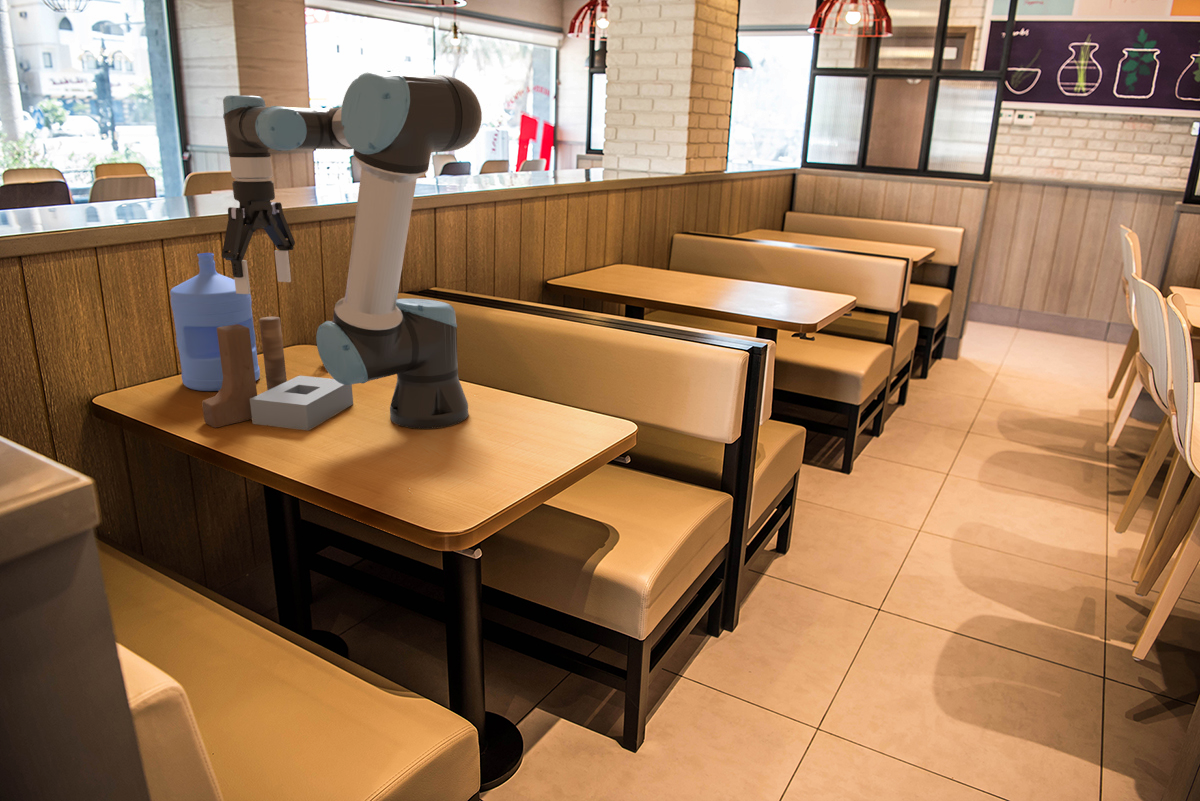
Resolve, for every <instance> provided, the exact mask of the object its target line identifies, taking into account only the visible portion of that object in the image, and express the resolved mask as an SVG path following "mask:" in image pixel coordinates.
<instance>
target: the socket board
mask: <svg viewBox="0 0 1200 801" xmlns="http://www.w3.org/2000/svg"><path fill="white" fill-rule="evenodd" d="M352 385H353V384H352ZM352 385H344V384H341V383H339V382H337V381H336V380H335V379H334V378H327V377H318V376H316V377H315V376H308V375H298V376H295V377H293V378H291V379H289V380H287V381H286V382H284V383H282V384H280V385H278V386H276V387H274V388H272V389H270V390H265V391H263V392H261V393H259V394H257V396H255V397H253V398H251V399H250V406H251V414H252V419H251V420H252V425H260V426H267V425H268V427H277V428H283V429H284V428H285V429H294V430H300V429H301V430H303V431H310V430H312V429H313V428H315V427H317V426H318V425H320V424H322V423H324V422H325V421H328V420H329V419H331V418H333V417H334V416H336V415H337V414H339V413H341V412H342V411H344V410H345V409H347V408H349V407H350V406H352V405H354V395H353V386H352ZM301 430H300V431H301Z"/></svg>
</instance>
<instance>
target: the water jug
mask: <svg viewBox="0 0 1200 801" xmlns="http://www.w3.org/2000/svg"><path fill="white" fill-rule="evenodd" d="M196 256H197V257H198V267H199V272H198V274H197V275H194V276H193V277H191V278H189V279H187V280H185V281H183V282H181V283H179V284H178V285H176V286H173V287H172V288H171V289H170V292H169V294H170V306H171V310H172V315H173V321H174V328H175V334H176V335H175V339H176V340H175V341H176V346H177V349H178V353H179V354H178V355H179V360H180V368H181V380H182V384H183V385H184V386H185V387H186V388H188V389H191V390H194V391H199V392H201V391H202V392H219V390H220V389H221V388H222V382H223V373H222V366H221V358H220V351H219V343H218V335H217V328H218V327H223V326H229V325H235V324H240V325H242V326H245V327H248V328H249V330H250V339H251V347H252V356H253V364H254V372H255V381H256V382H257V381H258V380H259V379H260V376H261V373H260V372H261V369H260V366H259V361H258V352H257V350H258V349H257V342H256V333H255V332H256V330H255V326H254V318H253V310H252V295H251V294H237V293H236V288H235V280H234V278H231V277H229V276H225V275H223V274H221V273H218V272H217V270H216V261H215V260H214V256H215V254H214V253H213V252H203V253H197V254H196Z"/></svg>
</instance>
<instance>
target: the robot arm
mask: <svg viewBox="0 0 1200 801" xmlns="http://www.w3.org/2000/svg"><path fill="white" fill-rule="evenodd" d="M222 103H223V104H222V107H223V113H222V114H223V115H222V116H223V118H222V119H223V121H224V128H225V135H226V142H227V143H226V144H227V150H228V156H229V166H230V174H231V178H233V179H235V180H233V181H232V182H231V184H232V185H231V186H232V193H233V199H234V200H235V201H237V202H238V203H239V206H238V207H231V206H229V207H228V208H227V217H228V219H227V225H226V230H225V235H224V241H223V246H222V252H221V258H223V259H225V260H226V261H230V263H231V270H232V276H233V279H234V280H235V288H236V293H237V294H251V286H250V276H249V269H248V260H247V259H244V258H245V256H246V253H247V251H248V248H249V245H250V243H251V242H250V241H251V240H252V237H253V234H254V233H255V232H256V231H257V230H259V229H261V228H262V229H263V230H264V231H265V233H266V234H267V236H268V237H269V239H270V240H271V242H272V243H273V244H274V246H275V247H276V249H275V250H274V260H275V268H276V276H277V283H278V282H280V283H283V282H284V283H291V282H292V277H291V266H290V263H291V262H290V261H291V260H290V251H293V250H294V248H295V247H294V246H295V245H296V241H295V238H294V236H293V234H292V232H291V229H290V227H289V223H288V222H287V220H286V217H285V215H284V211H283V205H282V203H281V202H276V201H273V200H275V198H276V193H275V192H276V191H275V184H274V182H273V180H271V179H272V178H273V177H274V172H273V164H272V157H271V150H275V151H279V152H281V151H292V150H353V157H354V159H355V160H356V161H357V162H358V164H359V165H360V167H361V170H360V180H359V186H358V194H357V201H356V202H357V203H356V210H355V218H354V225H353V226H354V227H353V235H352V242H351V247H350V248H351V251H350V257H349V265H348V272H347V273H348V274H347V281H346V286H345V287H346V289H345V295H344V297H342V298H340V299H339V300H338V301H337V302H336V303H335V305H334V310H333V317H332V320H331V321H330V320H326V321H324V322H323V323H322V324H320V325H319V326H318V327H317V331H316V338H315V340H316V346H317V347H316V348H317V352H318V355H319V358H320V359H321V362H322V364H323V367H324V368H325V370H326V372H327V373H328V374H329V375H330V376H331V378H332V379H335V380H336V381H337V382H339V383H341V384H344V385H357V384H365V383H368V382H369V381H374V380H378V379H382V378H386V377H390V376H395V375H396V384H395V387H394V392H393V395H392V398H391V402H390V405H389V416H390V421H392V423H393V424H396V425H398V426H401V427H404V428H410V429H419V430H420V429H423V430H424V429H425V430H426V429H427V430H429V429H438V428H439V429H440V428H446V427H451V426H454V425H456V424H459V423H461V422H464V421H465V420H466V419H467V418H468V417H469V403H468V400H467V398H466V395H465V392H464V390H463V387H462V384H461V382H460V379H459V371H458V370H459V369H458V368H459V367H458V366H459V365H458V363H459V362H458V335H457V332H458V331H457V329H458V324H457V317H456V311H455V308H454V307H453V306H452V305H451V304H449V303H447V302H444V301H438V300H435V299H434V300H433V299H423V298H398V296H399V295H398V294H399V288H400V282H401V276H402V271H403V264H404V258H405V251H406V246H407V240H408V236H409V235H408V233H409V228H410V222H411V217H412V216H411V215H412V210H413V204H414V198H415V191H416V186H417V181H418V180H417V179H418V178H420V177H422V176H423V175H425V174H426V173H427V172H428V171H429V166H430V161H431V155H432V153H442V152H452V151H453V152H454V151H457V150H460V149H463V148H464V147H466V146H468V145H469V144H470V143H472V142H473V140H474V139H475V138H476V136H477V135H478V133H479V131H480V129H481V125H482V120H483V119H482V118H483V115H482V108H481V104H480V101H479V99H478V96H477V95H476V94H475V92H474V91H473V90H472V88H470V86H468V84H467V83H464V82H463V81H462V80H460V79H458V78H455V77H452V76H449V75H442V74H436V75H435V74H423V73H422V74H421V73H411V72H400V71H399V72H398V71H394V70H383V71H368V72H365V73H362V74H360V75H359V76H358V77H357V78H355V79H354V80H352V82H351V83H350V85H349V86H348V88H347V90H346V92H345V94H344V97H343V100H342V103H341V106H339V107H332V108H331V107H330V108H329V107H327V108H326V107H324V108H323V107H319V108H317V107H316V108H315V107H313V108H312V107H293V106H292V107H291V106H288V107H287V106H284V105H283V106H281V105H280V106H279V105H278V106H277V105H272V106H267V105H266V102H265V100H264V98H263V97H262V96H259V95H258V96H257V95H229V94H228V95H226V96H224V98H223V100H222Z"/></svg>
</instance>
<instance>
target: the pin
mask: <svg viewBox="0 0 1200 801" xmlns="http://www.w3.org/2000/svg"><path fill="white" fill-rule="evenodd" d="M281 322H282V321H281V317H278V316H266V317H265V316H263V317H260V318H259V326H260V328H259V329H260V336H261V344H262V353H263V354H262V355H263V356H262V357H263V362H264V364H263V365H264V372H265V380H266V389H267V390H270V389H272V388H274V387H276V386H278V385H280V384H282V383H284V382H286V381H288V380H287V370H286V362H285V352H284V344H283V343H284V341H283V334H282V325H281V324H282V323H281ZM267 390H266V391H267Z"/></svg>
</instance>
